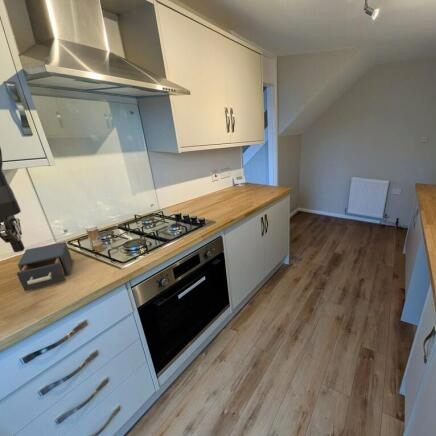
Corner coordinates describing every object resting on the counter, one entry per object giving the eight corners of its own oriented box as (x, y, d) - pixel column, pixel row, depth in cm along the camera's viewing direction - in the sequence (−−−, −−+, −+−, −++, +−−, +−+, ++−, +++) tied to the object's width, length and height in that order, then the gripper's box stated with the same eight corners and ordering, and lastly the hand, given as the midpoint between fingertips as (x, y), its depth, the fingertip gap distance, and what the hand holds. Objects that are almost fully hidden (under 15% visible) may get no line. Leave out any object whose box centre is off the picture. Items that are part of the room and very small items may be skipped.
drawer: (64, 286, 92) (57, 269, 89) (22, 297, 85) (13, 279, 83) (68, 265, 105) (62, 250, 102) (32, 274, 99) (25, 258, 96)
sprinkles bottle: (100, 252, 118) (92, 227, 114) (90, 252, 118) (82, 228, 113) (105, 248, 123) (98, 224, 118) (96, 248, 122) (88, 224, 117)
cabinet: (69, 274, 100) (62, 255, 97) (27, 285, 93) (17, 264, 90) (72, 260, 111) (65, 241, 108) (34, 268, 104) (26, 249, 101)
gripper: (-15, 197, 74) (8, 246, 81) (-32, 208, 65) (-4, 263, 71) (20, 193, 79) (39, 240, 85) (9, 203, 69) (31, 255, 75)
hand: (19, 250), depth 78 cm, fingers closed
